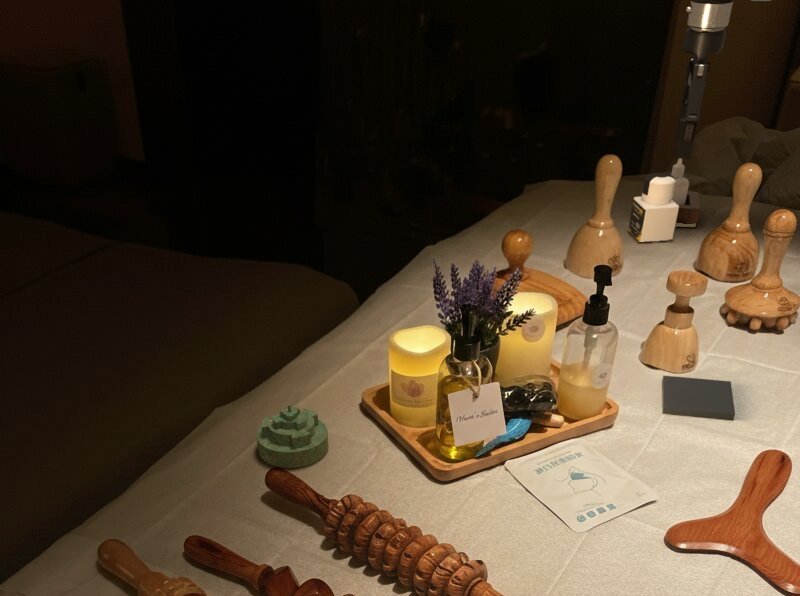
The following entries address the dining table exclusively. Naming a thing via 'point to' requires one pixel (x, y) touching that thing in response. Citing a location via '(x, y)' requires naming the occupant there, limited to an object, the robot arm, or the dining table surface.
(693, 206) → the holder
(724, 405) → the coaster
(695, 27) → the robot arm
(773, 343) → the dining table surface
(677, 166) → the eye dropper bottle
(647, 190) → the medicine bottle
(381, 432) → the dining table surface
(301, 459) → the decorative artifact
